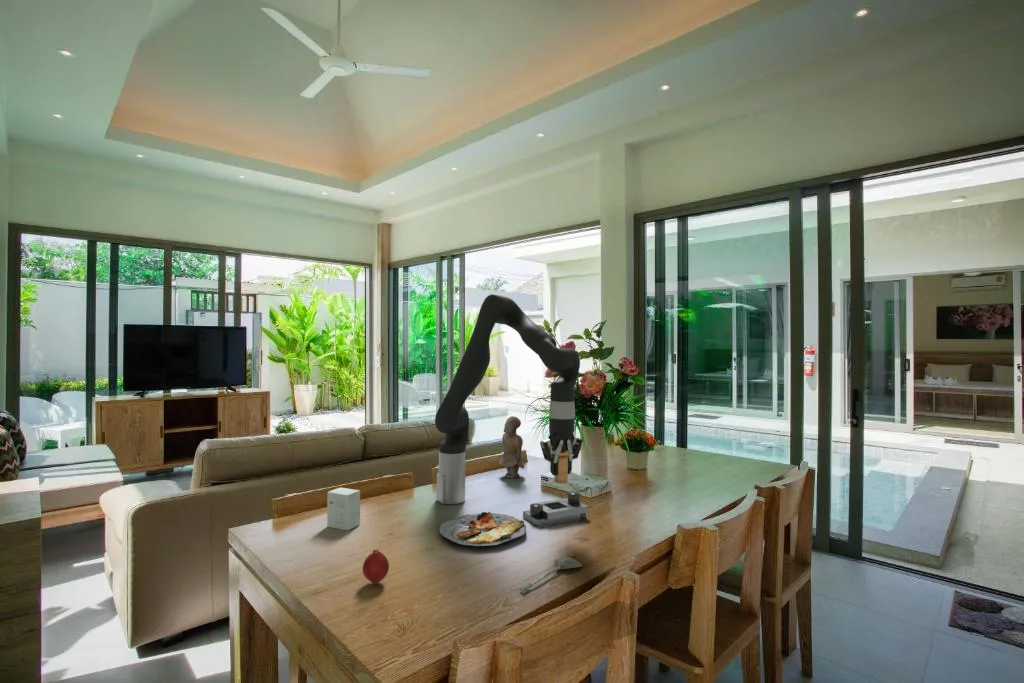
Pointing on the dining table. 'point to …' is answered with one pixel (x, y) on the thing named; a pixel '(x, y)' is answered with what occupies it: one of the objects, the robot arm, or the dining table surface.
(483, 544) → the food plate
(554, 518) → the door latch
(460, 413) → the robot arm
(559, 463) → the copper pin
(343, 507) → the small box
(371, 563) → the onion
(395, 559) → the dining table surface
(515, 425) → the clay figurine
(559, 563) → the soupspoon
